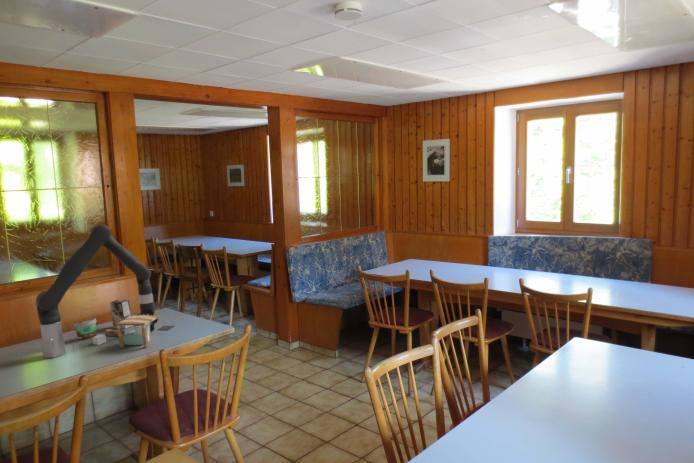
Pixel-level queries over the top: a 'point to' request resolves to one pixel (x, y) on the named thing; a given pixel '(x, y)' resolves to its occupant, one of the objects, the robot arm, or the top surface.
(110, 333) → the walnut stick
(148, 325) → the dixie cup
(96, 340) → the grey block
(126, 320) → the light wood legged piece
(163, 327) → the dark grey flat slab
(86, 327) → the food container
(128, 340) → the crook
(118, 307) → the coffee box
